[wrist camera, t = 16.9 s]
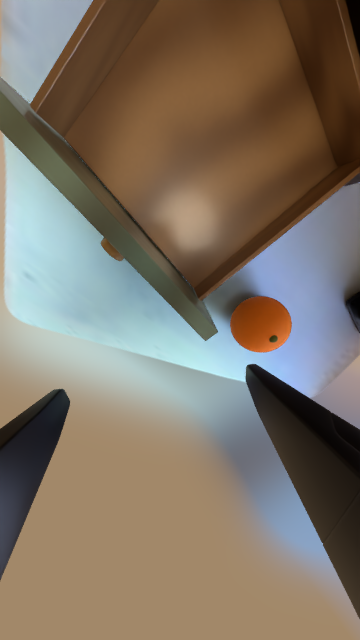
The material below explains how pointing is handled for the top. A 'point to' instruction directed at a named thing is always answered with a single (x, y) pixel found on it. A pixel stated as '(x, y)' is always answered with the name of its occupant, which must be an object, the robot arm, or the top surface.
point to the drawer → (196, 131)
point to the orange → (260, 324)
